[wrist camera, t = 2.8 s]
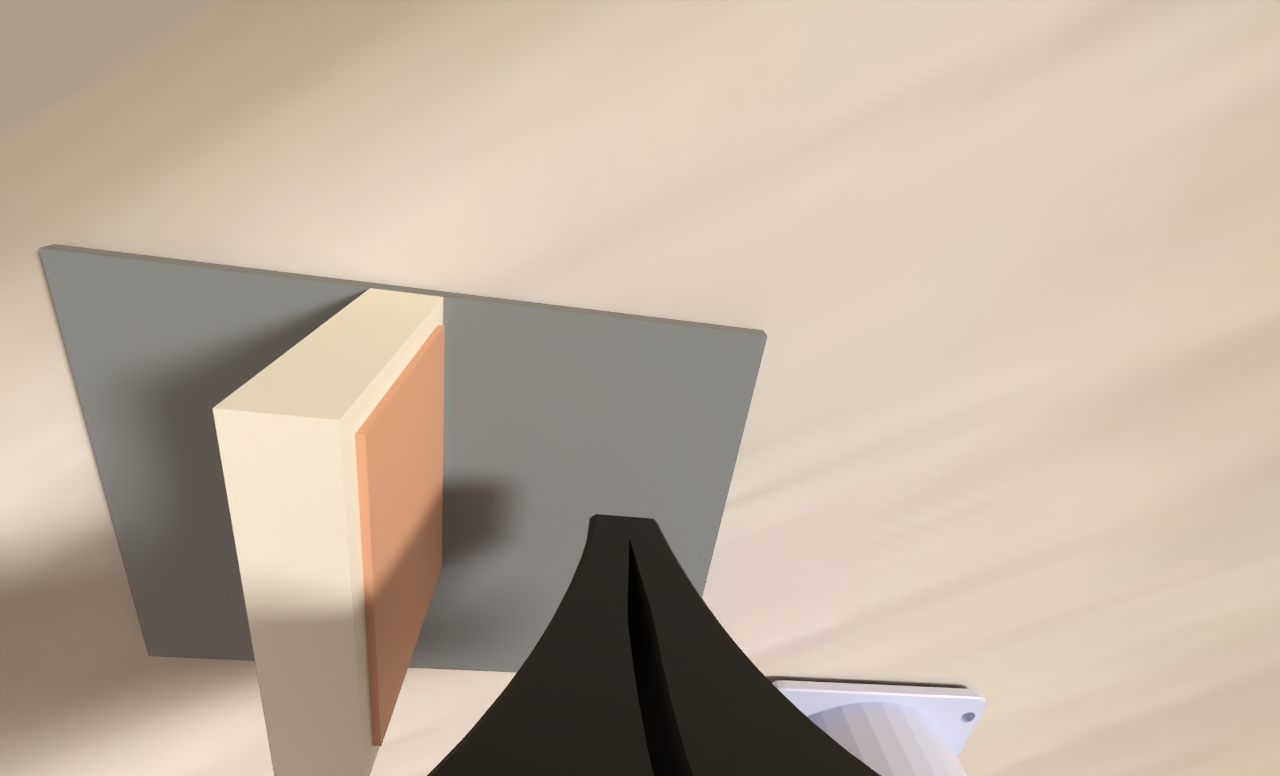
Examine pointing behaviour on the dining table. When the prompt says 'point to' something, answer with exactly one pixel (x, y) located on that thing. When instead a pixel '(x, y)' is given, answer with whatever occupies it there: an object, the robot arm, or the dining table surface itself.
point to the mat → (472, 439)
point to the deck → (339, 523)
